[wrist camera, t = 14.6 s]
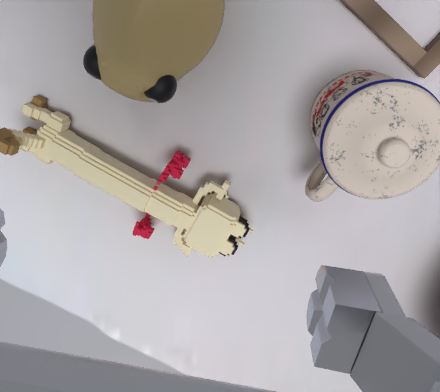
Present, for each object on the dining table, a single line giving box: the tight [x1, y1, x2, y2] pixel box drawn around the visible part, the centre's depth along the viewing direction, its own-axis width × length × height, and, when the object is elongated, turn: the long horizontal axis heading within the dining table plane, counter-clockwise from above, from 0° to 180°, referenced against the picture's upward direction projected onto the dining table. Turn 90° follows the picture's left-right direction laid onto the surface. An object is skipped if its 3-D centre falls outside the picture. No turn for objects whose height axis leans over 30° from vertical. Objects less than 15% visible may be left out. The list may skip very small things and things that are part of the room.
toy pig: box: [83, 0, 224, 103], centre depth 30 cm, size 10×12×11 cm
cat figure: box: [0, 95, 253, 257], centre depth 37 cm, size 10×9×25 cm
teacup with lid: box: [305, 70, 440, 202], centre depth 32 cm, size 12×9×12 cm
